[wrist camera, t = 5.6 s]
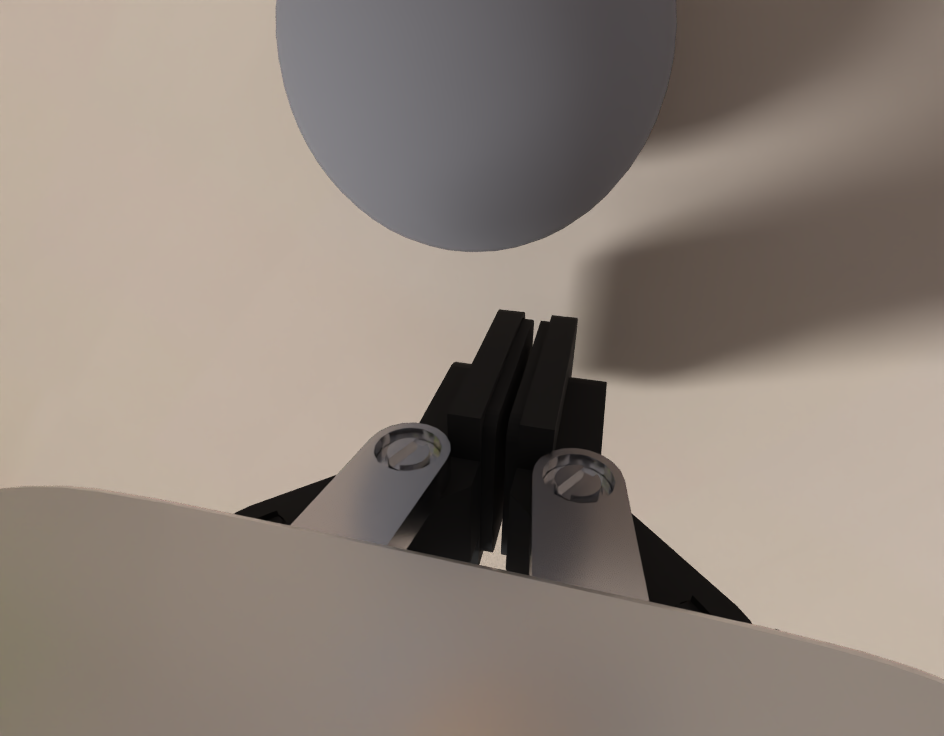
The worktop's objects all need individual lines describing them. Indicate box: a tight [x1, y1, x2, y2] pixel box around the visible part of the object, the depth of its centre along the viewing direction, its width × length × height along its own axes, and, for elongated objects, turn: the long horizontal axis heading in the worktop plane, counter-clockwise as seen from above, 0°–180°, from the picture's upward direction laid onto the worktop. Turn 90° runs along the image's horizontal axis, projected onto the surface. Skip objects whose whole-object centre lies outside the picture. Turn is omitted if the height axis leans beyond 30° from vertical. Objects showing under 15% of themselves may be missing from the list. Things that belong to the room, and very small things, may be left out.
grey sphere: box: [276, 0, 677, 252], centre depth 8 cm, size 6×6×6 cm
